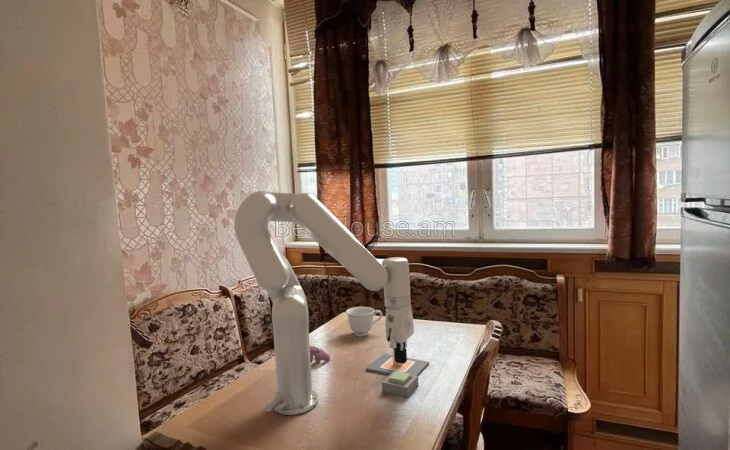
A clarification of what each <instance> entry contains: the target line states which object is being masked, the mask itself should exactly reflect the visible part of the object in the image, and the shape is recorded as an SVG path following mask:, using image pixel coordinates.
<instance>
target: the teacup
mask: <svg viewBox="0 0 730 450" xmlns="http://www.w3.org/2000/svg"><path fill="white" fill-rule="evenodd" d="M345 313H346V314H347V318H348V323H349V328H350V330H351V331H352V332H353V333H354V336H356V337H360V338H361V337H367V336H368V335H369V331H371V330H372V329H373V325H374V324H375V323H377V322H379V321H381V320H382V317H383V313H382V311H381V310H379V309H376V310H375V308H373V307H370V306H354V307H350V308H348V309H346V310H345ZM377 314H379V317H378V318H376V319H375V320H373V319H374V316H375V317H376V315H377Z"/></svg>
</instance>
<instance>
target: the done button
mask: <svg viewBox="0 0 730 450" xmlns="http://www.w3.org/2000/svg"><path fill="white" fill-rule="evenodd" d="M410 379H411V374H409V373H404V372H399V371H396V372H394V373H393V374H392V375H391V376H390V377H389V382H393V383H398V384H402V385H406V383H407V382H408V381H409V380H410Z"/></svg>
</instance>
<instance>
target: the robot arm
mask: <svg viewBox="0 0 730 450" xmlns="http://www.w3.org/2000/svg"><path fill="white" fill-rule="evenodd" d="M270 222H280V223H281V222H284V223H296V224H298V226H300V228H302V229H303V230H304V231H305V232H306V234H308V235H309V236H310V237H311V238H312V239H313V240H314V241H315V242H316V243H317V244H318V245H319V246H320V247H321V248H322V249H323V250H324V251H325V252H327V253H328V254H329V256H331V257H332V258H334V259H335V260H336V261H337V262H338V263H340V265H341V266H342V267H344V268H345V270H347V272H348V273H350V274H351V275H352V276H353V277H354V278H355V279H356V280H357V281H358V282H359V283H360V284H361V285H362V286H363V287H364V288H365V289H367V290H369V291H373V292H375V291H380V290H382V289H383V294H384V307H385V340H386V341H387V342H388V343H389V348H391V349H392V348H393V349H394V356H395V362H397V363H402V364H404V363H405V362H406V361H407V358H408V356H407V355H408V353H407V347H408V340H409V339H410V338H411V337H412V336H413V335H414V334H415V325H414V316H413V309H412V304H411V303H412V301H411V299H412V298H411V284H410V282H411V281H410V280H411V279H410V263H409V261H408V259H407V258H405V257H398V256H396V257H388V258H376V257H375V256H374V255H373V254H372V253H371V252H370V251H369V250H368V249H367V248H365V246H364V245H362V243H361V242H360V241H359V240H358V239H357V238H356V237H355V236H354V234H353V233H352V232H351V231H350V230H349V229H348V228H347V227H346V226H345V225H344V224H343V223H342V222H341V221H340V220H339V219H338V218H337V217H336V216H335V215H334V214H333V213H332V212H331V211H330V210H329V209H328V208H327V206H325V205H324V204H323V203H322V202H321V201H320V200H319V199H318V198H316V197H315V196H314V195H313V194H311V193H308V192H302V193H301V192H300V193H299V192H298V193H293V192H292V193H290V192H289V193H288V192H270V191H264V190H257V191H254V192H251V193H250V194H248V195H247V196H246V197H245V198H244V199H243V201H242V202H241V203H240V205H239V207H238V208H237V210H236V213H235V215H234V222H233V226H234V227H233V228H234V233H235V237H236V239H237V242H238V244H239V246H240V248H241V250H242V252H243V254H244V256H245V259H246V261H247V263H248V265H249V267H250V270H251V272H252V273H253V276H254V278H255V280H256V283H257V284H258V285H259V287H260V288H261V289H262V290H265V291H266V292H267V294H268V296H269V299H270V300H271V303H272V305H271V306H272V307H271V321H272V323H271V324H272V332H273V333H272V334H273V344H274V345H273V347H274V355H275V356H274V357H275V358H274V359H275V374H276V375H275V376H276V389H277V391H276V392H275V393H274V398H272V401H270V402H269V403H266V404H265V411H266V412H267V413H270V412H272V411H274V412H275V413H278V414H280V415H284V416H285V415H286V416H294V415H299V414H304V413H307V412H308V411H311V410H312V409H313V408H315V407H316V405H317V404H318V403H319V395H318V394H317V392H316V391H313V387H312V386H313V385H312V384H313V383H312V365H311V361H310V347H309V346H310V331H309V330H310V329H309V324H310V323H309V307H308V301H307V296H306V294H305V291H304V289H303V288H302V286H301V284H300V282H299V280H298V278H297V275H296V273H295V271H294V269H293V267H292V265H291V264H290V261H289V260H288V258H286V257H285V255H283V254H281V253H280V251H279V249H278V246H277V244H276V242H275V240H274V238H273V236H272V234H271V232H270V230H269V223H270Z"/></svg>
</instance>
